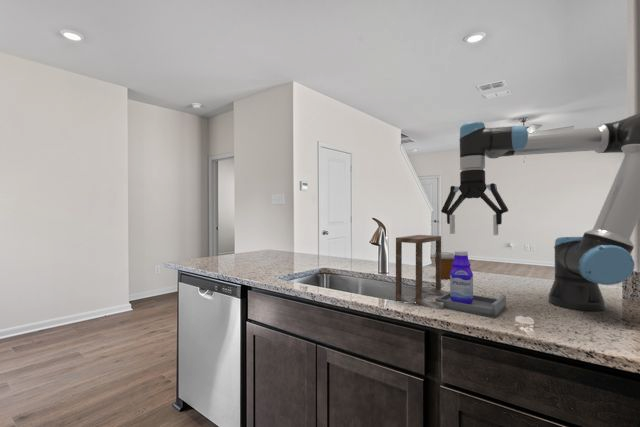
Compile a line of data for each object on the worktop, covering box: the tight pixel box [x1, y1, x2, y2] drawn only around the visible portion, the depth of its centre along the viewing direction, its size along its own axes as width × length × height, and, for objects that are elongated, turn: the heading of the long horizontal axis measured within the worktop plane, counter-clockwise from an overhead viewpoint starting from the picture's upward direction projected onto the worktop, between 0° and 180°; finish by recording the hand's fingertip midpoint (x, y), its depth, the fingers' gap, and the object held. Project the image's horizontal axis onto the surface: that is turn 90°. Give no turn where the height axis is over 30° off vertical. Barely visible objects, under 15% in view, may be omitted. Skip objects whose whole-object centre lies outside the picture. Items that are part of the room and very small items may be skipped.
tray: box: [435, 292, 507, 319], centre depth 108 cm, size 18×14×4 cm
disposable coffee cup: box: [433, 251, 455, 280], centre depth 154 cm, size 10×10×12 cm
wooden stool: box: [395, 234, 450, 310], centre depth 117 cm, size 16×19×22 cm
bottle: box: [449, 250, 474, 304], centre depth 110 cm, size 7×6×17 cm
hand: (473, 234), depth 107 cm, fingers open, 13 cm apart
